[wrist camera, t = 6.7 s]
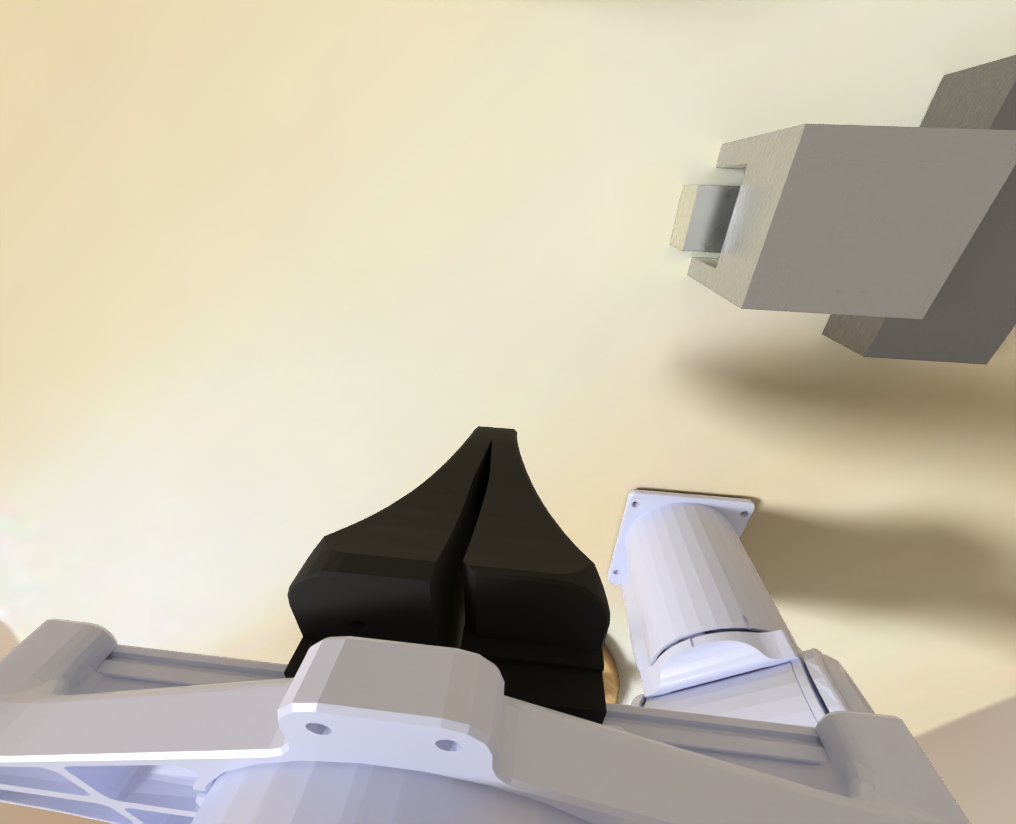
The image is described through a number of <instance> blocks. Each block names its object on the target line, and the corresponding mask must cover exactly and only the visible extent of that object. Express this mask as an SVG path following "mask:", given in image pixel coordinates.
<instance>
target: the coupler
mask: <svg viewBox="0 0 1016 824" xmlns="http://www.w3.org/2000/svg"><path fill="white" fill-rule="evenodd" d="M920 127H925V128H957V129H989V130H1016V55H1014V56H1011V57H1007V58H1004V59H1000V60H997V61H993V62H990V63H986V64H983V65H979V66H976V67H972V68H968V69H965V70H961V71H958V72H954V73H951V74H947V75H944V77H943V79H942V81H941V83H940V85H939V87H938V89H937V92H936V94H935V96H934V98H933V100H932V102H931V104H930V106H929V109H928V111H927V113H926V115H925V117H924V119H923V121H922V123H921V126H920ZM739 190H740V187H739V186H713V185H683V189H682V193H681V197H680V202H679V206H678V210H677V215H676V219H675V223H674V228H673V232H672V236H671V241H670V245H671V246H673V247H675V248H677V249H680V250H682V251H696V252H716V253H721V250H722V247H723V244H724V240H725V237H726V233H727V230H728V227H729V223H730V220H731V217H732V213H733V210H734V207H735V203H736V200H737V197H738V193H739ZM1015 325H1016V165H1015V166H1014V168H1013V170H1012V171H1011V173H1010V175H1009V176H1008V178H1007V180H1006V181H1005V183H1004V185H1003V186H1002V188H1001V190H1000V191H999V193H998V195H997V196H996V198H995V200H994V201H993V203H992V205H991V206H990V208H989V209H988V211H987V213H986V214H985V216H984V218H983V219H982V221H981V223H980V224H979V226H978V228H977V229H976V231H975V233H974V234H973V236H972V238H971V239H970V241H969V243H968V244H967V246H966V248H965V249H964V251H963V253H962V254H961V256H960V258H959V259H958V261H957V263H956V264H955V266H954V268H953V269H952V271H951V273H950V274H949V276H948V278H947V279H946V281H945V283H944V284H943V286H942V288H941V289H940V291H939V293H938V294H937V296H936V298H935V299H934V301H933V303H932V304H931V306H930V308H929V309H928V311H927V313H926V314H925V316H924V318H923V319H910V318H892V317H875V316H858V315H841V314H831V316H830V318H829V321H828V323H827V325H826V327H825V329H824V331H823V333H822V334H823V335H825V336H827V337H828V338H830V339H832V340H834V341H836V342H838V343H840V344H841V345H843V346H845V347H847V348H849V349H851V350H853V351H855V352H856V353H858V354H860V355H862V356H864V357H877V358H893V359H909V360H925V361H941V362H957V363H973V364H987V363H988V361H989V360H990V359H991V357H992V356H993V355H994V353H995V352H996V351H997V349H998V348H999V346H1000V345H1001V344H1002V342H1003V341H1004V340H1005V338H1006V337H1007V335H1008V334H1009V333H1010V331H1011V330H1012V329H1013V327H1014V326H1015Z"/></svg>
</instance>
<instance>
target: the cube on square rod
mask: <svg viewBox="0 0 1016 824" xmlns="http://www.w3.org/2000/svg"><path fill="white" fill-rule="evenodd" d="M1015 165H1016V130H989V129H957V128H925V127H893V126H861V125H828V124H803V125H799V126H795V127H791V128H787V129H783V130H779V131H775V132H771V133H766V134H762V135H758V136H754V137H750V138H746V139H742V140H738V141H734V142H730V143H726V144H722V146H721V149H720V153H719V157H718V161H717V165H716V167H720V168H746V170H745V173H744V177H743V180H742V183H741V187H740V190H739V193H738V197H737V200H736V203H735V207H734V210H733V213H732V217H731V220H730V223H729V227H728V230H727V233H726V237H725V240H724V244H723V247H722V250H721V254H720V257H719V259H715V258H695V257H692V259H691V263H690V266H689V270H688V274H687V275H688V276H690V277H691V278H693V279H695V280H696V281H698V282H699V283H701V284H703V285H704V286H706V287H707V288H709V289H711V290H712V291H714V292H715V293H717V294H719V295H720V296H722V297H723V298H725V299H727V300H728V301H730V302H731V303H733V304H735V305H736V306H738V307H739V308H741V309H756V310H773V311H790V312H807V313H824V314H841V315H858V316H875V317H892V318H910V319H923V318H924V316H925V314H926V313H927V311H928V309H929V308H930V306H931V304H932V303H933V301H934V299H935V298H936V296H937V294H938V293H939V291H940V289H941V288H942V286H943V284H944V283H945V281H946V279H947V278H948V276H949V274H950V273H951V271H952V269H953V268H954V266H955V264H956V263H957V261H958V259H959V258H960V256H961V254H962V253H963V251H964V249H965V248H966V246H967V244H968V243H969V241H970V239H971V238H972V236H973V234H974V233H975V231H976V229H977V228H978V226H979V224H980V223H981V221H982V219H983V218H984V216H985V214H986V213H987V211H988V209H989V208H990V206H991V205H992V203H993V201H994V200H995V198H996V196H997V195H998V193H999V191H1000V190H1001V188H1002V186H1003V185H1004V183H1005V181H1006V180H1007V178H1008V176H1009V175H1010V173H1011V171H1012V170H1013V168H1014V166H1015Z"/></svg>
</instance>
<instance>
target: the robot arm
mask: <svg viewBox="0 0 1016 824" xmlns="http://www.w3.org/2000/svg"><path fill="white" fill-rule="evenodd" d="M633 502H637V503H633ZM754 509H755V505H754V503H753V502H752V501H751V500H750V499H742V498H731V497H719V496H707V495H695V494H684V493H672V492H660V491H648V490H633V491H631V492H630V493H629V495H628V498H627V502H626V506H625V510H624V514H623V518H622V521H621V525H620V529H619V533H618V537H617V541H616V545H615V548H614V552H613V556H612V560H611V564H610V568H609V571H608V575H607V579H608V582H609V583H611V584H615V585H621V588H622V594H623V599H624V604H625V610H626V615H627V621H628V626H629V632H630V637H631V642H632V648H633V653H634V658H635V662H636V665H637V667H638V670H639V672H640V676H641V681H642V686H643V692H644V694H641V695H638V696H636V697H635V699H634V700H633V701H632V704H631V705H622V704H614V703H606V700H605V691H604V682H603V673H602V672H603V671H604V658H603V649H602V648H603V645H604V641H605V638H606V634H607V631H608V628H609V624H610V610H609V605H608V601H607V597H606V594H605V590H604V587H603V585H602V582H601V579H600V576H599V574H598V571H597V569H596V567H595V564H594V563H593V562H592V561H591V560H590V559H589V558H588V557H587V556H586V555H585V554H584V553H582V552H581V551H580V550H579V549H578V548H577V547H576V546H575V544H574V543H573V542H572V541H571V540H570V539H569V538H568V537H567V535H566V534H565V533H564V532H563V531H562V529H561V528H560V527H559V525H558V524H557V523H556V521H555V520H554V519H553V518H552V516H551V515H550V513H549V512H548V510H547V509H546V507H545V506H544V504H543V503H542V501H541V499H540V498H539V496H538V494H537V492H536V490H535V489H534V487H533V485H532V483H531V480H530V478H529V476H528V474H527V471H526V469H525V466H524V463H523V461H522V458H521V455H520V451H519V447H518V443H517V432H516V431H515V430H514V429H506V428H493V427H480V426H478V427H477V428H476V429H475V430H474V431H473V433H472V434H471V435H470V437H469V438H468V439H467V440H466V441H465V443H464V444H463V445H462V446H461V447H460V448H459V449H458V450H457V451H456V453H455V454H454V455H453V456H452V457H451V458H450V459H449V460H448V461H447V462H446V463H445V464H444V465H443V466H442V467H441V468H440V469H438V470H437V471H436V472H435V473H434V474H433V475H432V476H431V477H430V478H428V479H427V480H426V481H425V482H424V483H422V484H421V485H420V486H418V487H417V488H416V489H414V490H413V491H412V492H410V493H409V494H407V495H406V496H404V497H403V498H401V499H399V500H398V501H396V502H395V503H393V504H392V505H390V506H388V507H386V508H385V509H383V510H381V511H379V512H377V513H376V514H374V515H372V516H370V517H368V518H366V519H364V520H362V521H359V522H357V523H355V524H353V525H350V526H348V527H346V528H343V529H341V530H339V531H336V532H334V533H332V534H329V535H326V536H324V537H323V539H322V540H321V542H320V543H319V544H318V545H317V546H316V548H315V549H314V550H313V552H312V553H311V554H310V556H309V557H308V559H307V560H306V562H305V563H304V565H303V567H302V568H301V570H300V571H299V573H298V574H297V576H296V577H295V579H294V581H293V582H292V584H291V585H290V587H289V591H288V599H289V604H290V607H291V609H292V612H293V614H294V616H295V619H296V621H297V623H298V626H299V628H300V630H301V632H302V635H303V638H302V640H301V642H300V644H299V645H298V647H297V649H296V651H295V653H294V655H293V656H292V658H291V660H290V662H289V664H288V665H286V664H277V663H269V662H261V661H252V660H244V659H235V658H227V657H219V656H210V655H202V654H193V653H185V652H176V651H168V650H160V649H151V648H143V647H134V646H126V645H118V644H117V641H116V639H115V638H114V636H113V635H112V634H111V633H110V632H109V631H108V630H107V629H105V628H103V627H101V626H99V625H96V624H92V623H86V622H77V621H69V620H60V619H50V620H46V621H45V622H44V623H43V624H42V625H41V626H40V627H38V628H37V629H36V630H35V631H34V632H33V633H31V634H30V635H29V636H28V637H27V638H26V639H24V640H23V641H22V642H21V643H20V644H19V645H18V646H16V647H15V648H14V649H13V650H12V651H11V652H10V653H8V654H7V655H6V656H5V657H4V658H3V659H1V660H0V802H4V803H10V804H16V805H22V806H29V807H34V808H39V809H44V810H50V811H55V812H60V813H66V814H71V815H75V816H80V817H85V818H89V819H94V820H99V821H103V822H108V823H112V824H971V823H970V821H969V820H968V818H967V817H966V815H965V814H964V812H963V811H962V809H961V808H960V806H959V805H958V803H957V802H956V800H955V799H954V797H953V796H952V794H951V793H950V792H949V790H948V788H947V787H946V785H945V784H944V783H943V781H942V780H941V778H940V776H939V775H938V773H937V772H936V770H935V769H934V767H933V766H932V764H931V763H930V761H929V760H928V758H927V757H926V755H925V754H924V752H923V751H922V749H921V748H920V746H919V745H918V743H917V742H916V740H915V739H914V737H913V736H912V734H911V733H910V731H909V730H908V728H907V727H906V725H905V724H904V722H903V721H902V719H900V718H898V717H896V716H889V715H881V714H875V713H874V711H873V710H872V708H871V707H870V705H869V704H868V702H867V701H866V699H865V698H864V696H863V695H862V693H861V692H860V690H859V689H858V687H857V686H856V684H855V683H854V681H853V680H852V679H851V677H850V676H849V674H848V673H847V672H846V670H845V669H844V668H843V666H842V665H841V664H840V663H839V662H838V661H837V660H835V659H833V658H831V657H829V656H827V655H823V654H822V653H821V652H820V651H819V650H817V649H814V648H812V649H811V650H807V651H803V652H802V651H801V649H800V648H799V647H798V646H797V644H796V642H795V640H794V638H793V636H792V635H791V633H790V631H789V629H788V627H787V625H786V624H785V622H784V620H783V618H782V616H781V614H780V613H779V611H778V609H777V607H776V605H775V603H774V602H773V600H772V598H771V596H770V594H769V592H768V591H767V589H766V587H765V585H764V583H763V581H762V580H761V578H760V576H759V574H758V572H757V570H756V569H755V567H754V565H753V563H752V561H751V559H750V558H749V556H748V554H747V552H746V550H745V548H744V547H743V545H742V543H741V541H740V537H741V535H742V533H743V531H744V529H745V527H746V525H747V523H748V521H749V519H750V517H751V515H752V513H753V511H754ZM743 511H744V512H743Z"/></svg>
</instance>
